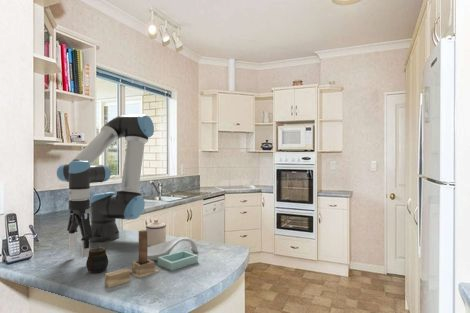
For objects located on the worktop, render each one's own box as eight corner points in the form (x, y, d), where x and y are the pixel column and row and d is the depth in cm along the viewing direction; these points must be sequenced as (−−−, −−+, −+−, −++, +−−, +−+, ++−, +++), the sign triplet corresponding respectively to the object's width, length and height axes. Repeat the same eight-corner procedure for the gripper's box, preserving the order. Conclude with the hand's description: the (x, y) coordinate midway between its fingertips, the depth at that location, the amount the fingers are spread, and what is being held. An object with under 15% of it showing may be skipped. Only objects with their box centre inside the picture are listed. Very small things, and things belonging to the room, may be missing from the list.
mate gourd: (105, 266, 118) (105, 239, 118) (111, 272, 112) (111, 244, 112) (84, 270, 113) (84, 243, 113) (89, 277, 107) (89, 248, 107)
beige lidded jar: (169, 244, 146) (169, 219, 146) (152, 248, 140) (152, 222, 140) (156, 239, 155) (156, 215, 155) (139, 242, 148) (139, 218, 148)
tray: (157, 266, 118) (157, 257, 118) (183, 258, 126) (183, 250, 126) (171, 272, 111) (171, 263, 111) (197, 263, 120) (197, 255, 120)
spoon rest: (145, 266, 118) (145, 247, 118) (136, 257, 128) (136, 240, 128) (201, 255, 131) (201, 238, 131) (189, 248, 141) (189, 232, 141)
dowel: (137, 270, 111) (137, 231, 110) (144, 268, 113) (144, 229, 113) (141, 272, 108) (141, 232, 108) (149, 270, 111) (149, 231, 110)
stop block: (105, 286, 100) (105, 273, 100) (125, 279, 105) (125, 268, 105) (109, 289, 98) (109, 276, 98) (130, 282, 103) (130, 270, 103)
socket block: (127, 273, 111) (127, 262, 110) (147, 267, 116) (147, 256, 116) (138, 279, 105) (138, 267, 105) (159, 273, 111) (159, 262, 111)
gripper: (58, 197, 130) (58, 248, 130) (81, 203, 113) (80, 262, 113) (77, 195, 136) (77, 244, 136) (101, 201, 118) (101, 257, 118)
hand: (79, 252), depth 124 cm, fingers open, 13 cm apart
